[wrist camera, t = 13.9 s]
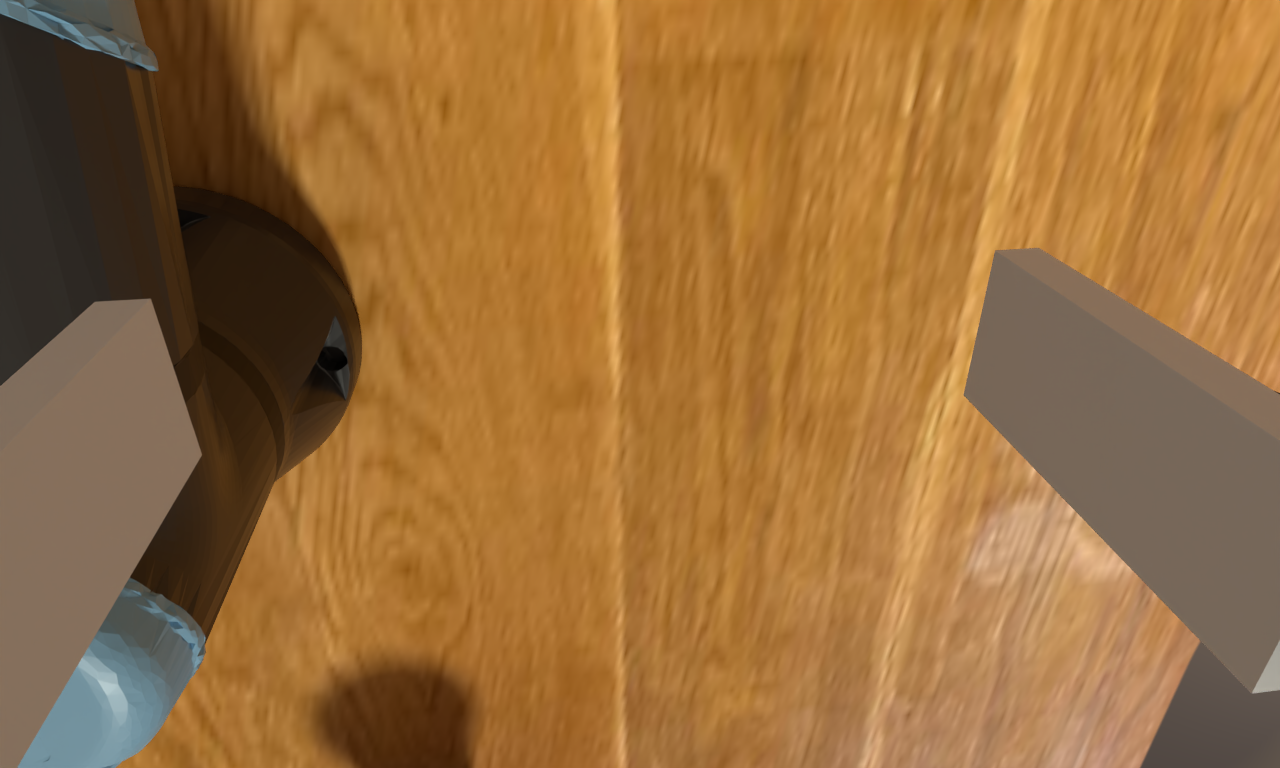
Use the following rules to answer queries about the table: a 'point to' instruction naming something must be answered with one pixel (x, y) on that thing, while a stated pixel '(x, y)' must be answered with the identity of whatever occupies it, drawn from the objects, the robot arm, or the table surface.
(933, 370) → the table surface
